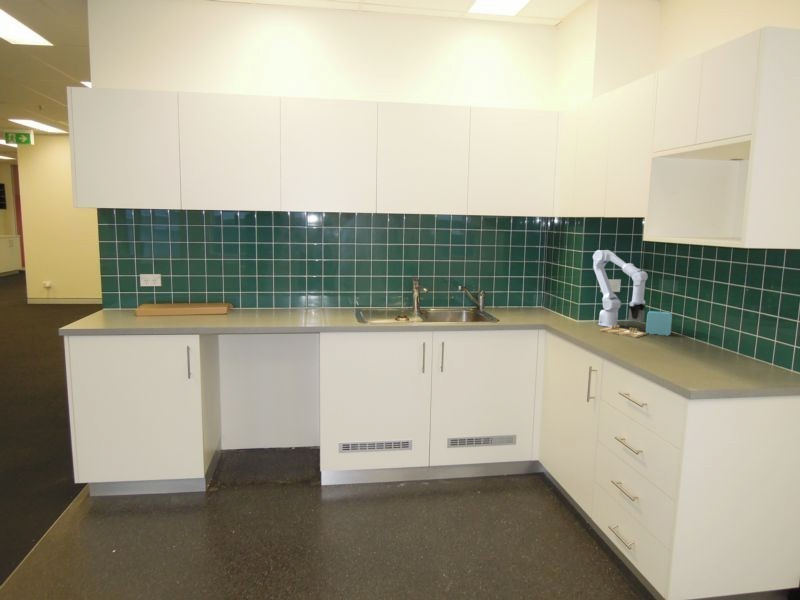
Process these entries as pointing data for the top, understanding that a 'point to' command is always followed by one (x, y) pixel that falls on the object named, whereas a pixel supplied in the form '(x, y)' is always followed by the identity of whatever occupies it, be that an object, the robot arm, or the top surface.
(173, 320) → the top surface
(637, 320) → the block
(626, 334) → the board
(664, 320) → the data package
